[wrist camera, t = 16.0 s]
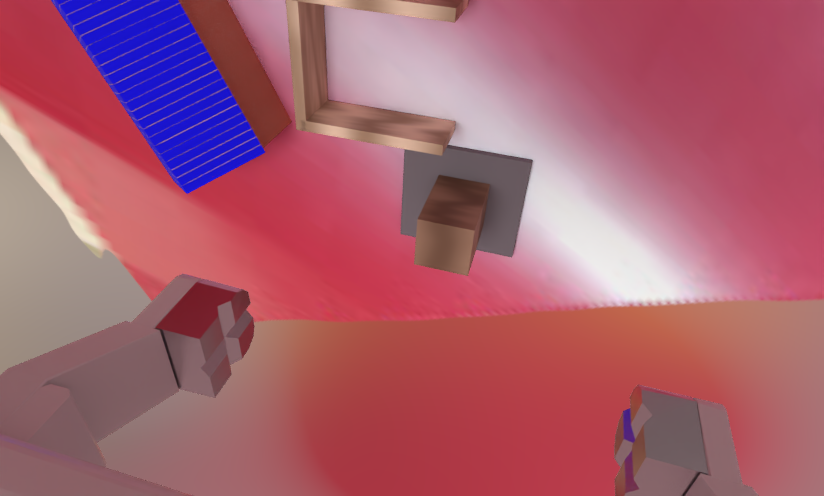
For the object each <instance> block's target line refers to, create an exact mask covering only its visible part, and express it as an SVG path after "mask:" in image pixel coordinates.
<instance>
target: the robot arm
mask: <svg viewBox="0 0 824 496" xmlns="http://www.w3.org/2000/svg"><path fill="white" fill-rule="evenodd" d="M249 305H250V299H249V294H248V292H247V291H245V290H243V289H239V288H235V287H232V286H228V285H224V284H221V283H217V282H213V281H209V280H206V279H201V278H197V277H193V276H190V275H186V274H182V275H179V276H177V277H175V278H174V279H173V280H172V281H171V282H170V283H169V284H168V285H167V286H166V287H165V289H164V290H163V291H162V292H161V293H160V294H159V295H158V296H157V297H156V298H155V299H154V300H153V301H152V302H151V303H150V304H149V305H148V306H147V307H146V308H145V309H144V310H143V311H142V312H141V313H140V314H139V315H138V316H137V317H136V318H135V319H134V320H133V321H132V322H128V321H124V322H122V323H119V324H117V325H114V326H112V327H109V328H107V329H105V330H102V331H100V332H97V333H95V334H92V335H90V336H87V337H85V338H82V339H80V340H77V341H75V342H72V343H70V344H67V345H65V346H63V347H60V348H57V349H55V350H53V351H50V352H48V353H45V354H43V355H40V356H38V357H35V358H33V359H30V360H28V361H26V362H23V363H20V364H18V365H16V366H13V367H11V368H8V369H7V370H6V371H5V372H3V373H2V374H1V375H0V496H192V495H189V494H186V493H183V492H180V491H177V490H174V489H171V488H168V487H165V486H162V485H158V484H155V483H152V482H149V481H146V480H143V479H140V478H137V477H133V476H131V475H127V474H124V473H121V472H118V471H115V470H112V469H109V468H106V461H105V458H104V456H103V454H102V452H101V450H100V448H99V446H98V444H97V442H99V441H100V440H102V439H103V438H105V437H107V436H108V435H109V434H111V433H113V432H114V431H116V430H118V429H119V428H121V427H123V426H124V425H126V424H127V423H129V422H130V421H132V420H134V419H135V418H137V417H138V416H140V415H142V414H143V413H145V412H146V411H148V410H149V409H151V408H153V407H154V406H156V405H158V404H159V403H161V402H162V401H164V400H166V399H167V398H169V397H170V396H172V395H174V394H175V393H177V392H178V391H179V389H182V390H186V391H190V392H193V393H197V394H201V395H206V396H209V397H213V398H215V397H216V396H217V394H218V393H219V392H220V390H221V389H222V387H223V386H224V384H225V383H226V382H227V380H228V378H229V377H230V376H231V366H230V365H231V364H233V363H235V362H237V361H239V360H241V359H242V358H243V357H244V355H245V354H246V352H247V351H248V349H249V347H250V344H251V342H252V339H253V336H254V321H253V317H252V316H251V315H250V314H249V313H248V311H247V310H246V309H247V307H248V306H249ZM614 453H615V455H614V456H615V460H616V461H617V463H618V464H619V466H620V467H621V468H620V470H619V472H618V474H617V476H616V478H615V496H758V494H757V493H756V492H755V491H754V489H753V488H752V487H750V486H746V485H743V484H742V480H741V475H740V471H739V466H738V461H737V457H736V452H735V447H734V443H733V438H732V434H731V429H730V425H729V420H728V415H727V411H726V409H725V407H724V406H723V405H722V404H717V403H714V402H710V401H705V400H701V399H697V398H692V397H689V396H685V395H680V394H676V393H672V392H667V391H663V390H659V389H654V388H650V387H645V386H642V385H637V386H636V387H635V388H634V390H633V392H632V394H631V396H630V409H627V410H625V411H623V413H622V416H621V418H620V420H619V423H618V427H617V431H616V435H615V449H614Z"/></svg>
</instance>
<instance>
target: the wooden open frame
mask: <svg viewBox="0 0 824 496" xmlns="http://www.w3.org/2000/svg"><path fill="white" fill-rule="evenodd" d="M324 5H329V6H336V7H344V8H351V9H358V10H366V11H373V12H381V13H388V14H396V15H403V16H410V17H418V18H425V19H433V20H440V21H448V22H456V20H457V19H458V18H459V17H460V15H461V14H462V13H463V11H464V10H465V9H466V8H467V6H468V0H286V8H287V21H288V33H289V45H290V57H291V69H292V82H293V94H294V106H295V118H296V130H302V131H307V132H313V133H318V134H324V135H329V136H335V137H341V138H346V139H352V140H357V141H363V142H368V143H374V144H379V145H385V146H390V147H396V148H401V149H407V150H413V151H418V152H424V153H429V154H435V155H440V156H442V155H443V153H444V151H445V149H446V147H447V145H448V143H449V141H450V139H451V137H452V135H453V133H454V130H455V121H450V120H444V119H438V118H432V117H426V116H420V115H414V114H408V113H402V112H397V111H391V110H385V109H379V108H373V107H367V106H361V105H355V104H349V103H343V102H337V101H331V100H328V93H327V69H326V46H325V23H324Z"/></svg>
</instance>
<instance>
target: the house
mask: <svg viewBox="0 0 824 496" xmlns="http://www.w3.org/2000/svg"><path fill="white" fill-rule="evenodd" d="M51 1H52V2H53V4H54V5H55V7H56V8H57V10H58V11H59V13H60V14H61V16H62V17H63V19H64V20H65V21H66V23H67V24H68V26H69V27H70V29H71V30H72V32H73V33H74V35H75V36H76V38H77V39H78V41H79V42H80V44H81V45H82V46H83V48H84V49H85V51H86V52H87V54H88V55H89V57H90V58H91V60H92V61H93V63H94V64H95V66H96V67H97V69H98V70H99V71H100V73H101V74H102V76H103V77H104V79H105V80H106V82H107V83H108V85H109V86H110V88H111V89H112V91H113V92H114V94H115V95H116V97H117V98H118V99H119V101H120V102H121V104H122V105H123V107H124V108H125V110H126V111H127V113H128V114H129V116H130V117H131V119H132V120H133V122H134V123H135V124H136V126H137V127H138V129H139V130H140V132H141V133H142V135H143V136H144V138H145V139H146V141H147V142H148V144H149V145H150V147H151V148H152V149H153V151H154V152H155V154H156V155H157V157H158V158H159V160H160V161H161V163H162V164H163V166H164V167H165V169H166V170H167V172H168V173H169V175H170V176H171V177H172V179H173V180H174V182H175V183H176V184H177V185H178V186H179V187H180V188H182V189H183V190H184V191H185V192H186V193H187V194H188V193H190V192H191V191H193V190H195V189H197V188H199V187H201V186H203V185H205V184H207V183H208V182H210V181H212V180H214V179H216V178H218V177H220V176H222V175H224V174H226V173H227V172H229V171H231V170H233V169H235V168H237V167H239V166H241V165H243V164H244V163H246V162H248V161H250V160H252V159H254V158H256V157H258V156H260V155H262V154H263V153H265V151H264V149H263V148H264V147H265V146H266V145H267V144H268V143H269V142H270V141H271V140H272V139H273V138H274V137H276V136H277V135H278V134H279V133H280V132H281V131H282V130H283V129H284V128H285V127H286V126H287V125H289V124H290V123H291V122H292V121H291V119H290V118H289V116H288V114H287V112H286V110H285V108H284V106H283V104H282V103H281V101H280V99H279V97H278V95H277V93H276V91H275V89H274V88H273V86H272V84H271V82H270V80H269V78H268V76H267V74H266V72H265V71H264V69H263V67H262V65H261V63H260V61H259V59H258V57H257V56H256V54H255V52H254V50H253V48H252V46H251V44H250V42H249V40H248V39H247V37H246V35H245V33H244V31H243V29H242V27H241V25H240V24H239V22H238V20H237V18H236V16H235V14H234V12H233V10H232V9H231V7H230V5H229V3H228V1H227V0H51Z"/></svg>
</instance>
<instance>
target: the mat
mask: <svg viewBox="0 0 824 496" xmlns="http://www.w3.org/2000/svg"><path fill="white" fill-rule="evenodd" d="M531 165H532V160H529V159H523V158H518V157H512V156H506V155H501V154H495V153H489V152H484V151H478V150H472V149H467V148H461V147H455V146H450V145H447V147H446V149H445V151H444V153H443V155H442V156H440V155H435V154H429V153H424V152H418V151H413V150H407V149H405V154H404V174H403V195H402V215H401V234H403V235H408V236H413V237H416V232H417V219H418V217H419V215H420V213H421V211H422V209H423V207H424V205H425V203H426V200H427V198H428V196H429V194H430V192H431V190H432V188H433V186H434V184H435V182H436V180H437V178H438V176H439V175H443V176H449V177H454V178H459V179H465V180H470V181H476V182H481V183H486V184H490V187H489V193H488V199H487V206H486V212H485V218H484V224H483V229H482V232H481V235H480V238H479V242H478V245H477V248H476V250H480V251H484V252H489V253H494V254H499V255H504V256H508V257H512V255H513V251H514V246H515V241H516V236H517V232H518V227H519V222H520V217H521V212H522V208H523V203H524V198H525V193H526V189H527V184H528V179H529V174H530V169H531Z"/></svg>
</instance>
